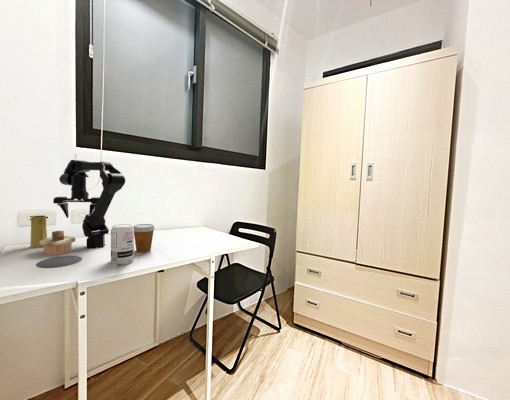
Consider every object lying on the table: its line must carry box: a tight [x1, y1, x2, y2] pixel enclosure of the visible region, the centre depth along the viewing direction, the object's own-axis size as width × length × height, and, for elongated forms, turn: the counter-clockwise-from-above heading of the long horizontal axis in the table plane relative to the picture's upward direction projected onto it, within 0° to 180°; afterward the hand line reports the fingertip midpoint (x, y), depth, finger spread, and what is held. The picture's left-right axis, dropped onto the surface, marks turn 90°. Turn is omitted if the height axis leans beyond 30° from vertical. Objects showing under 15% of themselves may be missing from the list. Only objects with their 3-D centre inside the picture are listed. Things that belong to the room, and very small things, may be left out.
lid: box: [40, 230, 76, 246], centre depth 105 cm, size 12×12×4 cm
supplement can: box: [110, 223, 135, 266], centre depth 98 cm, size 8×8×15 cm
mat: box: [35, 255, 83, 269], centre depth 94 cm, size 14×14×1 cm
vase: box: [29, 215, 48, 249], centre depth 112 cm, size 6×6×14 cm
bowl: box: [43, 242, 73, 256], centre depth 105 cm, size 9×9×5 cm
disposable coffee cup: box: [133, 223, 156, 253], centre depth 115 cm, size 10×10×12 cm
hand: (79, 217), depth 119 cm, fingers open, 9 cm apart
